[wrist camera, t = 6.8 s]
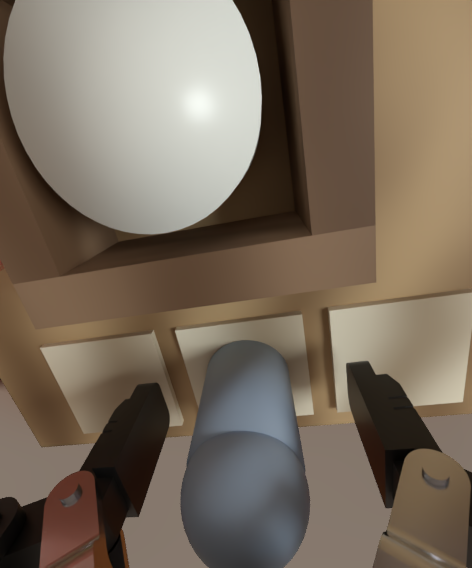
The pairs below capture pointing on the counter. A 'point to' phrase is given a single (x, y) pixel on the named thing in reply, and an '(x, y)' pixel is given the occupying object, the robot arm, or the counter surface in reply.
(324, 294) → the board
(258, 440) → the pawn
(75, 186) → the dome
